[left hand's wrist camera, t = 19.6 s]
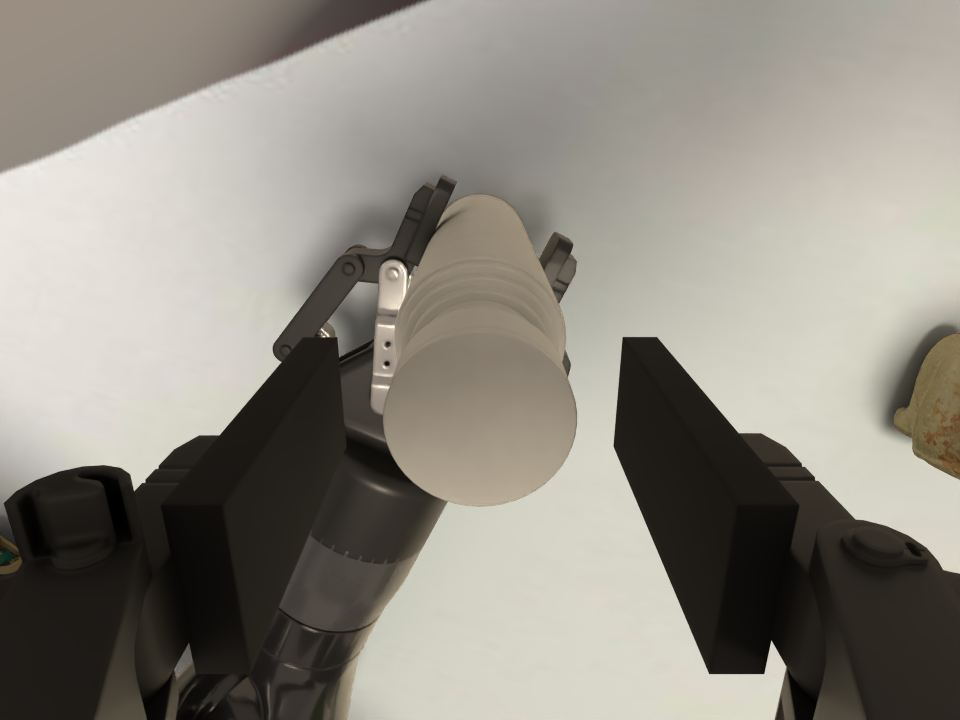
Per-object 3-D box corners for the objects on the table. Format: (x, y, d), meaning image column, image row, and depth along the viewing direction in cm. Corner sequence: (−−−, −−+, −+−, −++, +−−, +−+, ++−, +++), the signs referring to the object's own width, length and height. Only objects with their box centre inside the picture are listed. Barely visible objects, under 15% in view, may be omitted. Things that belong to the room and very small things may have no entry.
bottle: (503, 178, 32) (543, 261, 12) (539, 263, 34) (626, 462, 14) (419, 217, 33) (323, 357, 13) (457, 299, 35) (426, 538, 14)
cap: (435, 487, 15) (430, 530, 14) (364, 345, 14) (349, 374, 12) (589, 432, 15) (602, 470, 13) (530, 280, 13) (538, 300, 12)
